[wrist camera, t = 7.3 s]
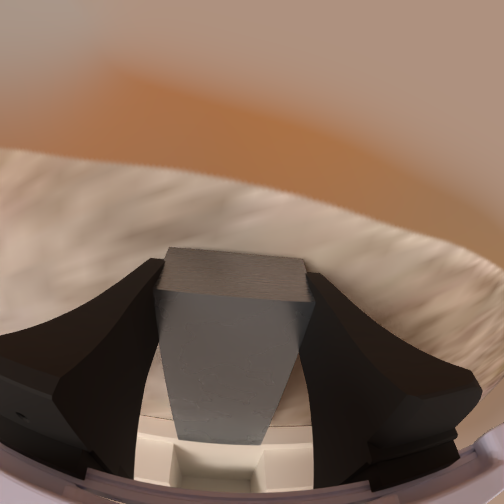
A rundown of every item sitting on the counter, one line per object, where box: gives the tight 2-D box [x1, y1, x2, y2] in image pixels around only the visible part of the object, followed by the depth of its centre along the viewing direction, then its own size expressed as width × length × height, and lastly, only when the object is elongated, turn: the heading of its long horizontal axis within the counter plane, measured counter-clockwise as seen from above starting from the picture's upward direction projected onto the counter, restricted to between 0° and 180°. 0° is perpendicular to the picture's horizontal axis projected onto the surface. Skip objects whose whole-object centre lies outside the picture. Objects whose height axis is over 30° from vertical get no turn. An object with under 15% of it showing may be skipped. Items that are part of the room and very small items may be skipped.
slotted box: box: [134, 415, 314, 493], centre depth 18 cm, size 13×14×6 cm
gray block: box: [153, 247, 316, 445], centre depth 13 cm, size 5×12×2 cm, turn 173°
